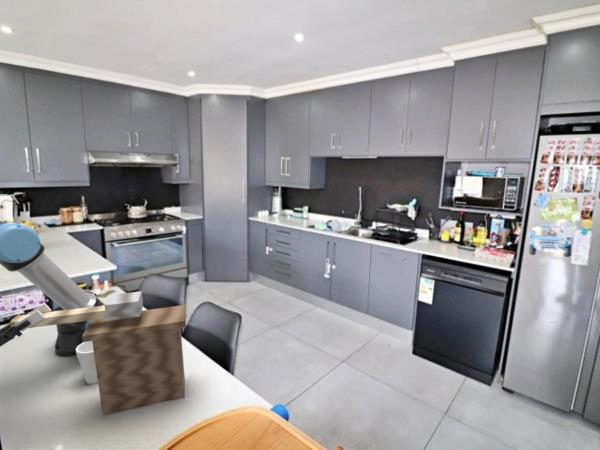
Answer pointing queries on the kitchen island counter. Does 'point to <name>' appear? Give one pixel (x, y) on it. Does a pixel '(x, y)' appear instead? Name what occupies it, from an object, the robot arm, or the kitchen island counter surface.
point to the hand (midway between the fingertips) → (44, 310)
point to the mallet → (93, 311)
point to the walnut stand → (139, 358)
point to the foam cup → (87, 361)
